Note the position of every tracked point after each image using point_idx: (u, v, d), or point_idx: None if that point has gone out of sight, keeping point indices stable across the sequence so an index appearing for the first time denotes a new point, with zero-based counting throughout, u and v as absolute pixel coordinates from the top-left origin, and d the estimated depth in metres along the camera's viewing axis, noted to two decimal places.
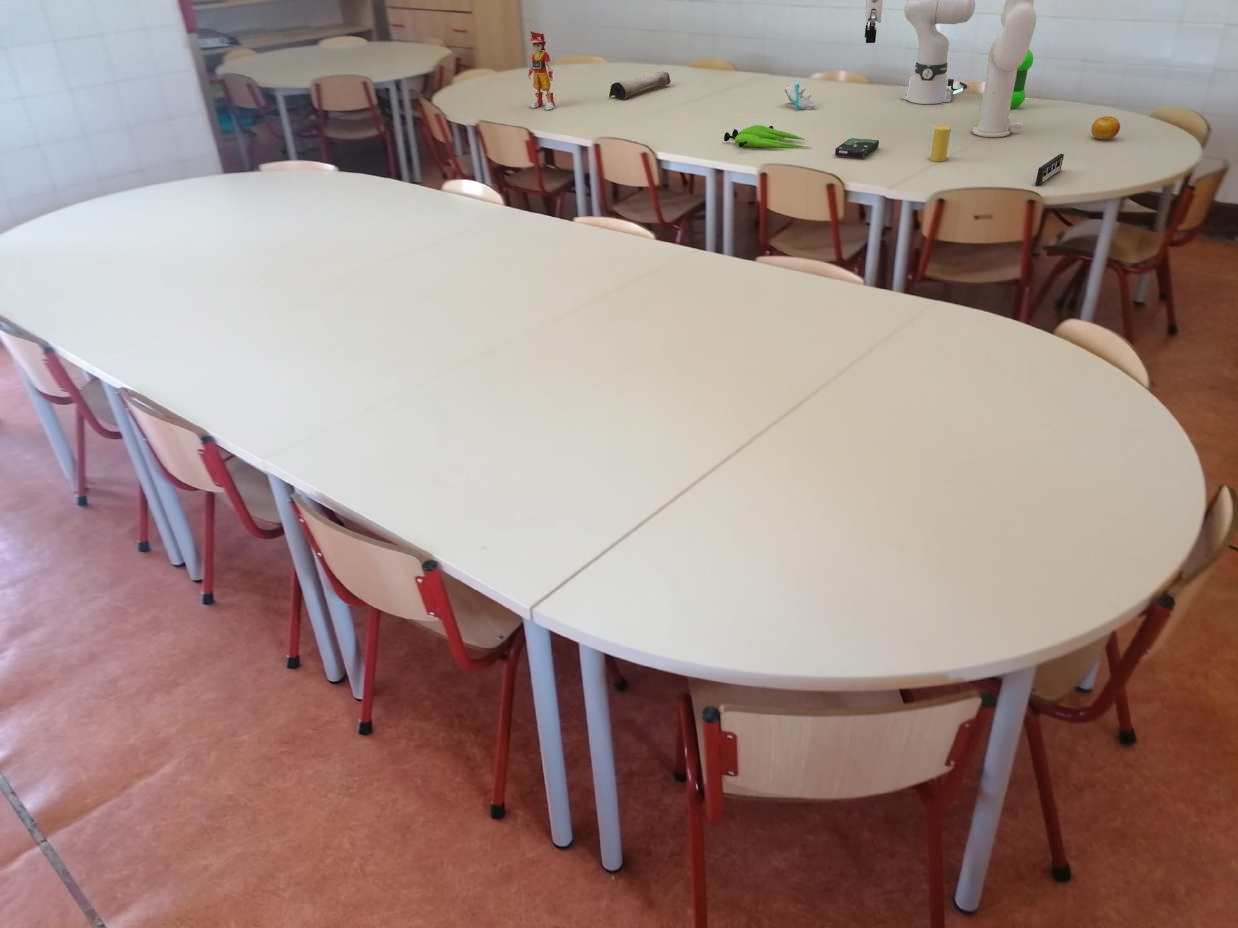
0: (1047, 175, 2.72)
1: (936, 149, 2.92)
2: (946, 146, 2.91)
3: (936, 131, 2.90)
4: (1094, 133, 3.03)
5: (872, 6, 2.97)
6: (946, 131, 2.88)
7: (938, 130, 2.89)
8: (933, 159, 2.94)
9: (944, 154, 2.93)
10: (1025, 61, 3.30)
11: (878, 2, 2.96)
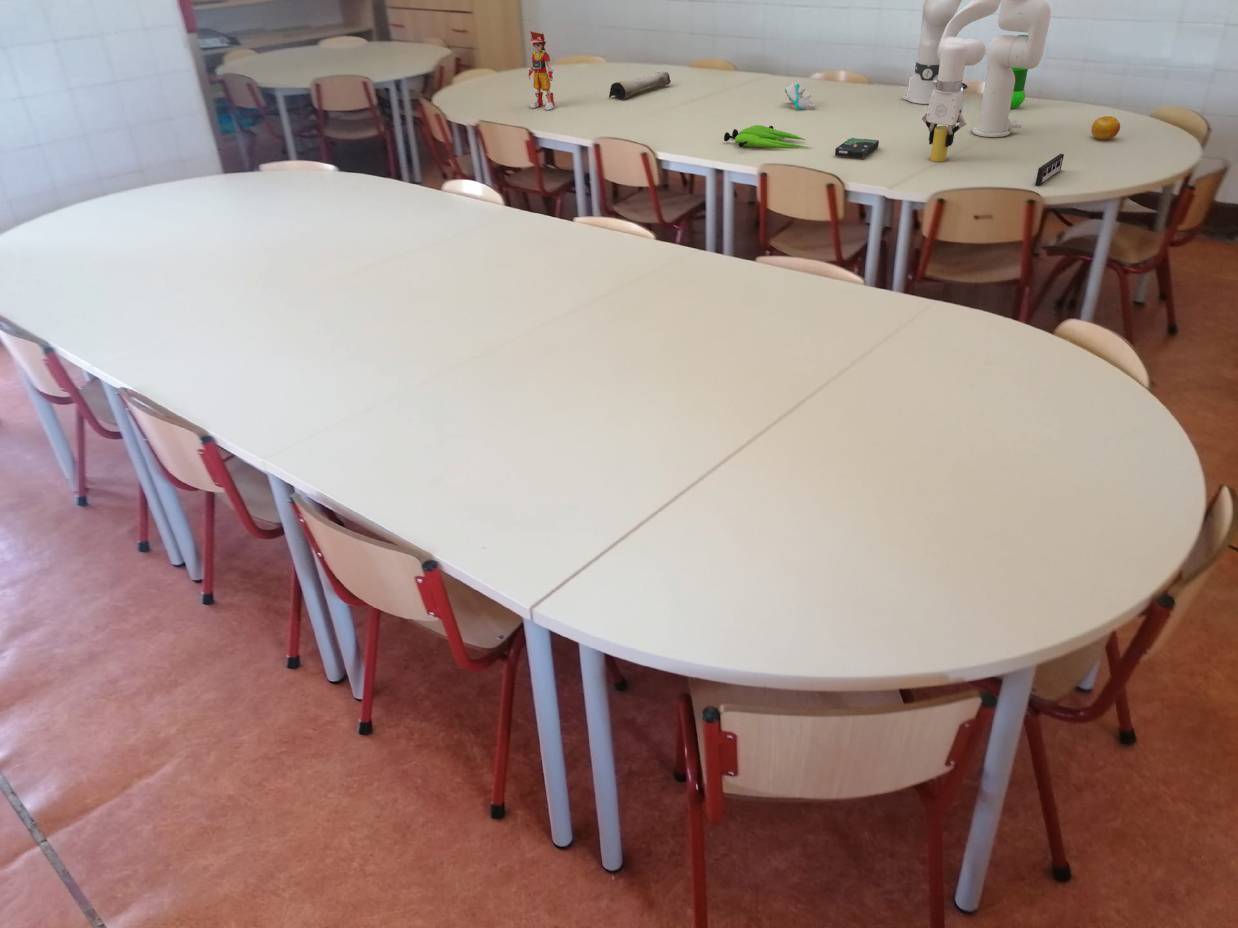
0: (1047, 175, 2.72)
1: (936, 149, 2.92)
2: None
3: (936, 131, 2.90)
4: (1094, 133, 3.03)
5: None
6: (946, 131, 2.88)
7: (938, 130, 2.89)
8: (933, 159, 2.94)
9: (944, 154, 2.93)
10: None
11: None
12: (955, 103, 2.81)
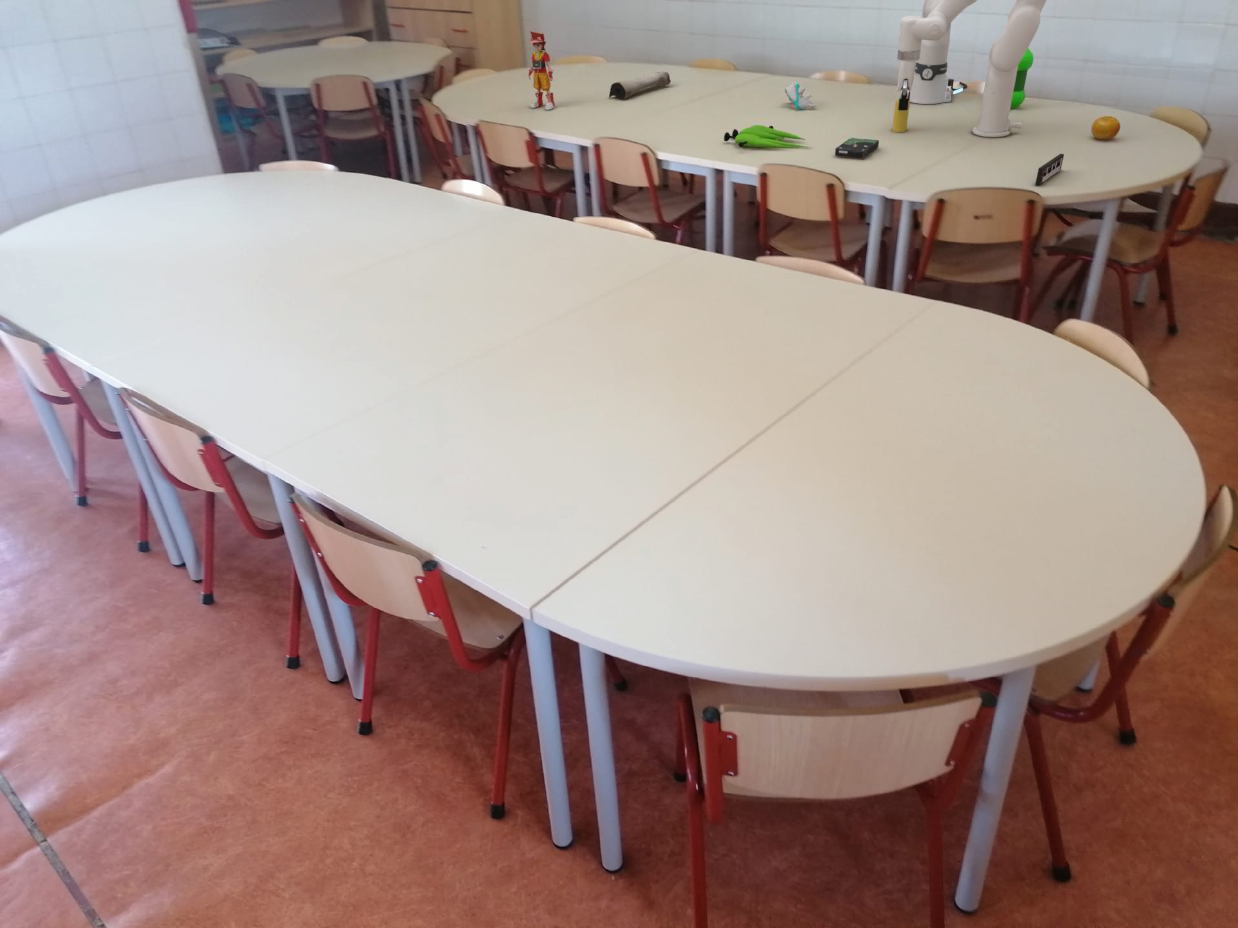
0: (1047, 175, 2.72)
1: (893, 119, 3.25)
2: (899, 118, 3.22)
3: None
4: (1094, 133, 3.03)
5: None
6: (898, 104, 3.20)
7: (895, 102, 3.21)
8: None
9: (896, 125, 3.23)
10: (1025, 61, 3.30)
11: None
12: (899, 71, 3.12)
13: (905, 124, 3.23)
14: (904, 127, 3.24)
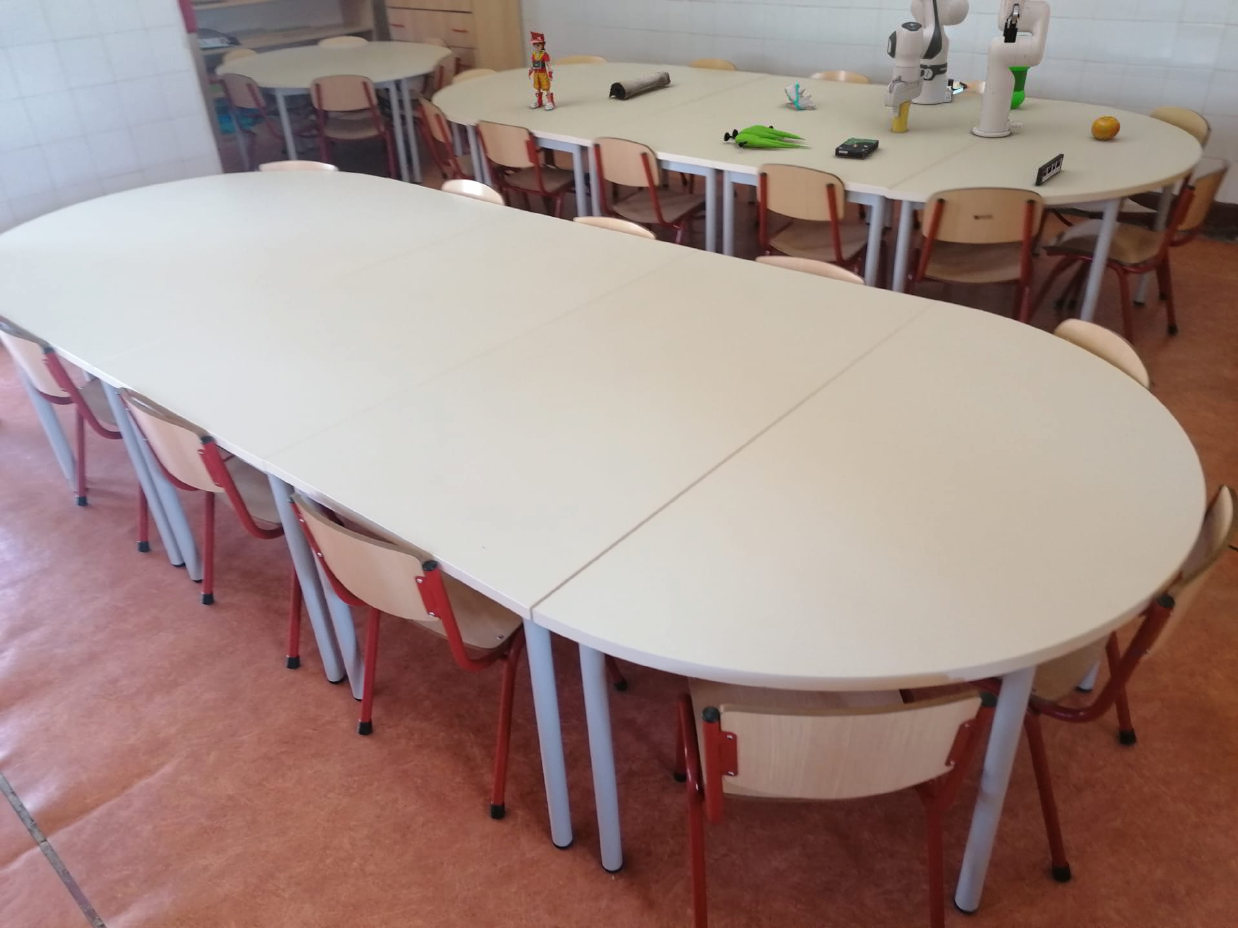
0: (1047, 175, 2.72)
1: None
2: (899, 119, 3.22)
3: None
4: (1094, 133, 3.03)
5: None
6: None
7: None
8: None
9: (896, 125, 3.23)
10: None
11: None
12: None
13: (905, 124, 3.23)
14: (904, 127, 3.24)
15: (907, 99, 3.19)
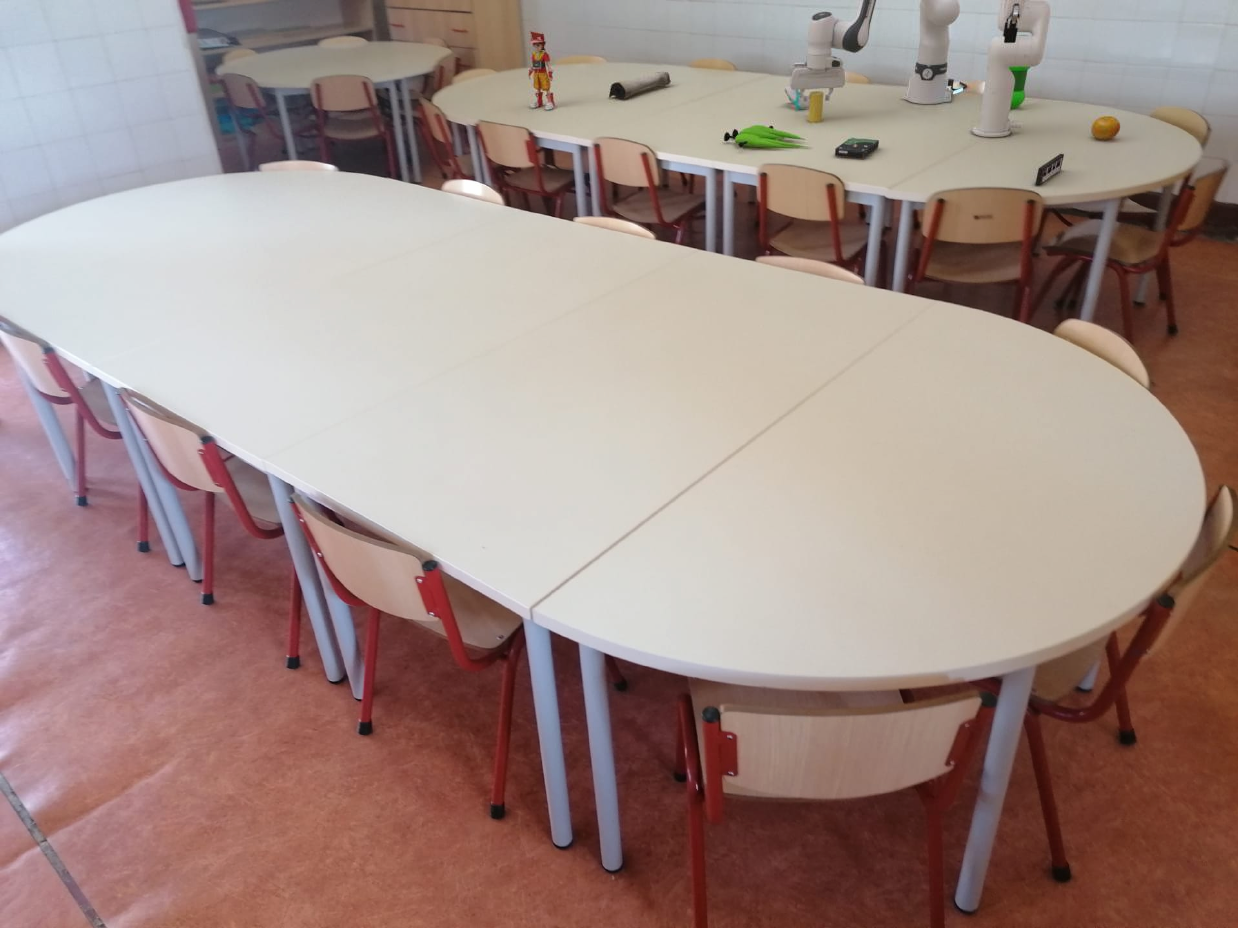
0: (1047, 175, 2.72)
1: None
2: (809, 108, 3.40)
3: None
4: (1094, 133, 3.03)
5: None
6: (810, 94, 3.38)
7: None
8: None
9: None
10: None
11: None
12: None
13: (815, 115, 3.40)
14: (814, 118, 3.41)
15: (817, 86, 3.35)
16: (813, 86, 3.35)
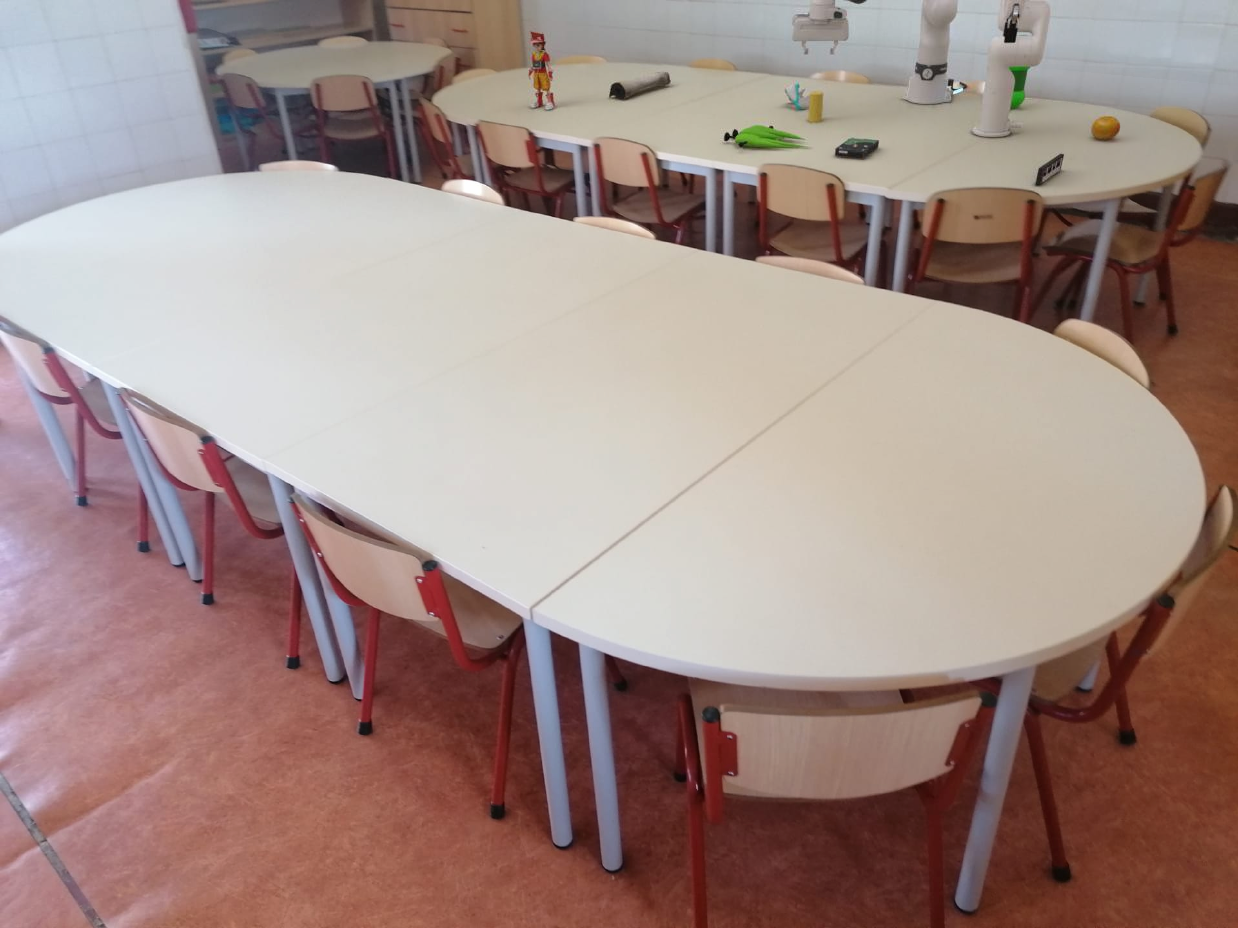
0: (1047, 175, 2.72)
1: None
2: (809, 108, 3.40)
3: None
4: (1094, 133, 3.03)
5: None
6: (810, 94, 3.38)
7: None
8: None
9: None
10: None
11: None
12: None
13: (815, 115, 3.40)
14: (814, 118, 3.41)
15: (820, 38, 3.25)
16: (815, 38, 3.26)
